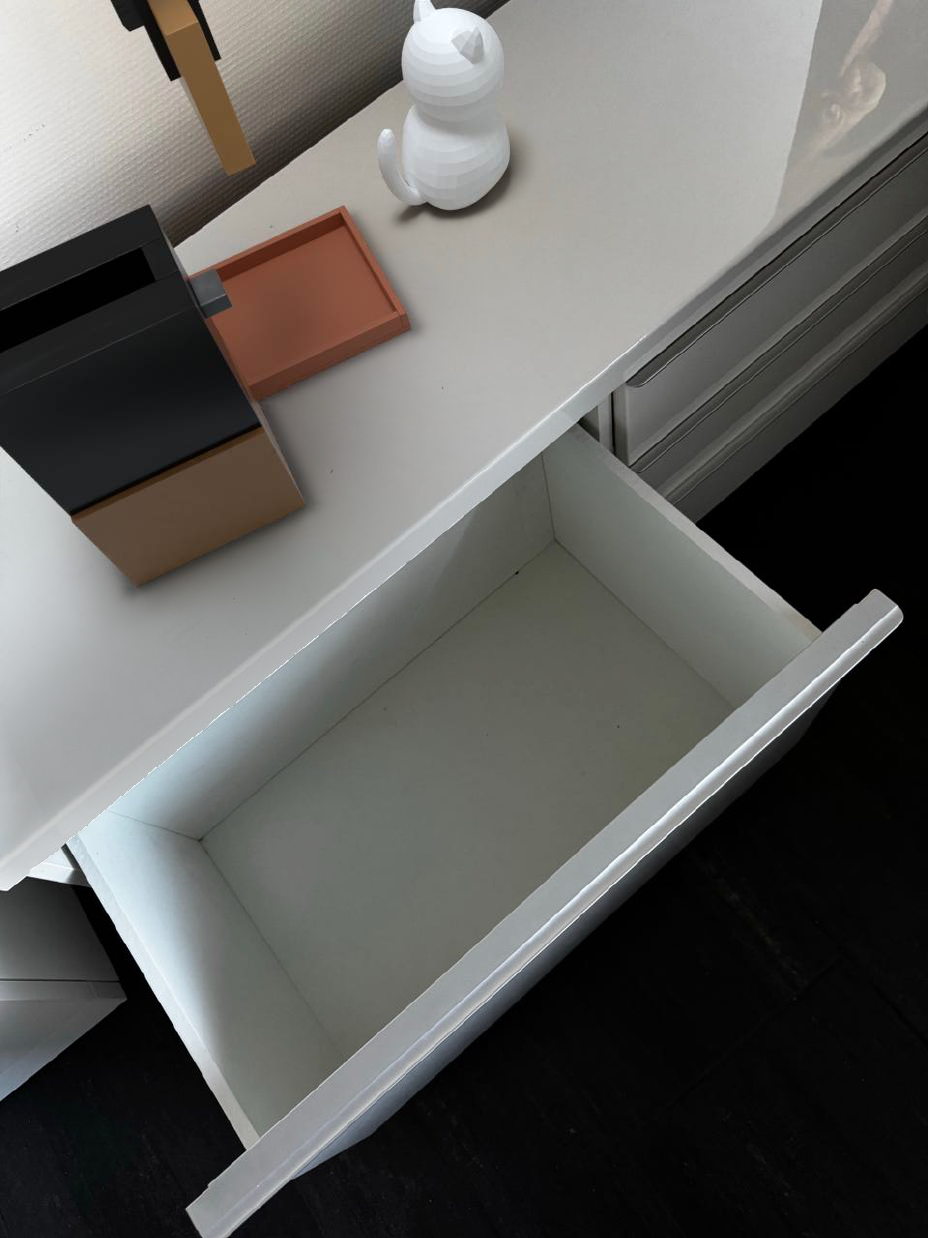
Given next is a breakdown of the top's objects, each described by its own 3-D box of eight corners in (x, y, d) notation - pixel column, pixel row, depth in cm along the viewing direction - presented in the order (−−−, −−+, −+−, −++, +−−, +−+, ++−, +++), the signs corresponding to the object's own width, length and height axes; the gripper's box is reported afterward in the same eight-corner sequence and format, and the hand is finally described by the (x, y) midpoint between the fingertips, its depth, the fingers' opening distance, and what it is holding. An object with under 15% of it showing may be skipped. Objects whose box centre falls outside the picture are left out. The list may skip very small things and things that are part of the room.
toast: (180, 83, 70) (115, -63, 61) (207, 71, 70) (146, -76, 61) (227, 177, 66) (165, 35, 57) (256, 164, 66) (198, 20, 57)
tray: (239, 410, 82) (230, 394, 80) (188, 297, 88) (178, 280, 86) (411, 329, 83) (406, 312, 81) (350, 222, 88) (344, 204, 86)
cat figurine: (542, 168, 88) (528, 3, 74) (433, 255, 86) (398, 102, 72) (472, 119, 91) (447, -47, 78) (366, 201, 89) (320, 45, 75)
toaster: (136, 587, 77) (-33, 418, 57) (99, 485, 81) (-70, 295, 61) (328, 495, 78) (228, 298, 58) (282, 400, 82) (173, 184, 62)
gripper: (-185, -343, 40) (94, 145, 62) (166, -490, 41) (321, 42, 63) (-214, -419, 43) (61, 71, 65) (113, -554, 44) (278, -26, 66)
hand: (189, 56), depth 64 cm, fingers closed on toast, 2 cm apart
